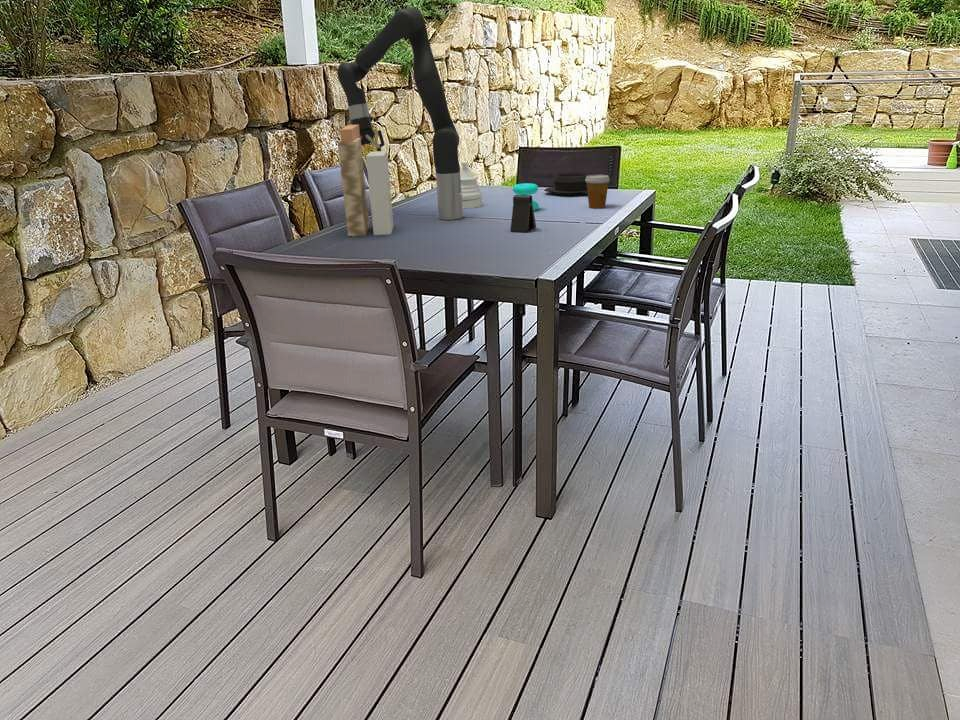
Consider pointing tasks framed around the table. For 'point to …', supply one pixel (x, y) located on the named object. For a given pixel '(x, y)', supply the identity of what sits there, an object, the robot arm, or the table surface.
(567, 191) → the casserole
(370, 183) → the grey post
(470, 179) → the honey pot
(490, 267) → the table surface
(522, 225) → the door stopper
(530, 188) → the donuts
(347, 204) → the oak post
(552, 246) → the table surface
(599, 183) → the disposable coffee cup
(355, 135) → the terracotta bar
